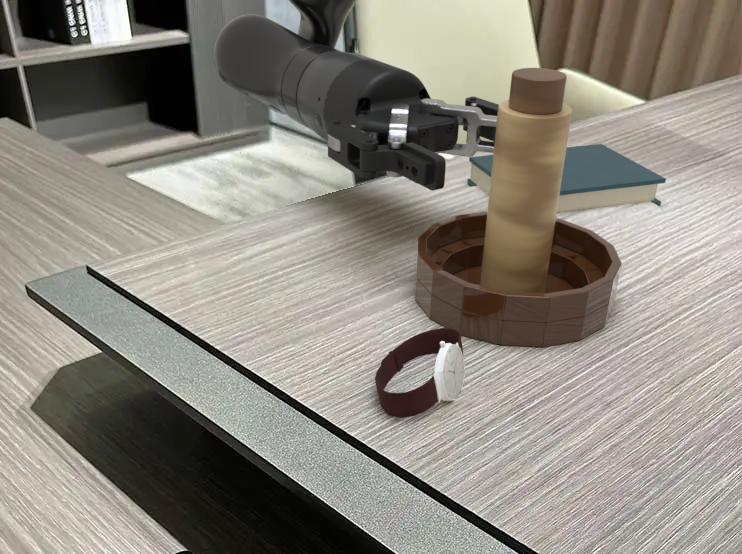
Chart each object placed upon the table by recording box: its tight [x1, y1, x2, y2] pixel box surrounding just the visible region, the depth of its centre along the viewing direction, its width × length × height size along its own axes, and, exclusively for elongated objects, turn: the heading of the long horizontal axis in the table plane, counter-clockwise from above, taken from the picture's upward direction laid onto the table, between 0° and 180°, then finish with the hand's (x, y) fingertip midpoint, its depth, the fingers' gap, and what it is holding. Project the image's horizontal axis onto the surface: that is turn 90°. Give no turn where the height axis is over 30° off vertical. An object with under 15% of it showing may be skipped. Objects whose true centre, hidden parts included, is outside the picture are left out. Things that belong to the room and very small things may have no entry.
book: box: [466, 143, 667, 213], centre depth 73 cm, size 14×10×2 cm
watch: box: [374, 327, 466, 419], centre depth 46 cm, size 8×5×4 cm, turn 153°
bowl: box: [414, 211, 623, 348], centre depth 55 cm, size 13×13×4 cm
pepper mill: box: [480, 67, 573, 293], centre depth 52 cm, size 4×4×15 cm
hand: (492, 164), depth 54 cm, fingers open, 8 cm apart
